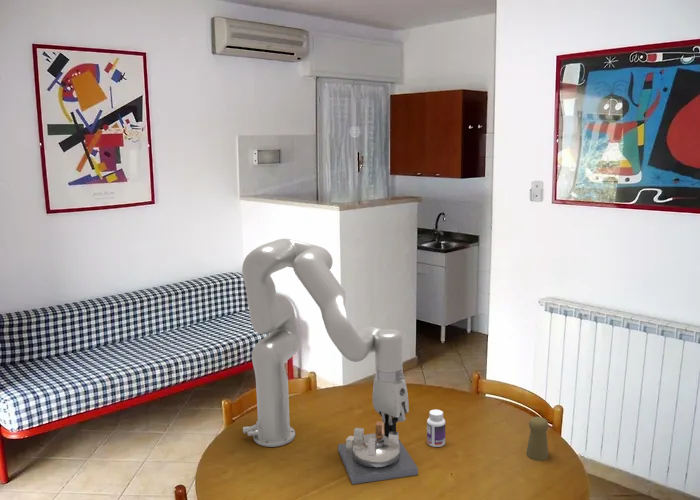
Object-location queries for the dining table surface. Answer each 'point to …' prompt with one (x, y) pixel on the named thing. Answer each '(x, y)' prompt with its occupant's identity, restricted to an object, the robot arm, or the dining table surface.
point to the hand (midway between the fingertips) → (390, 435)
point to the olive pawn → (538, 439)
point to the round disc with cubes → (376, 447)
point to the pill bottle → (436, 428)
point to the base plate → (370, 474)
